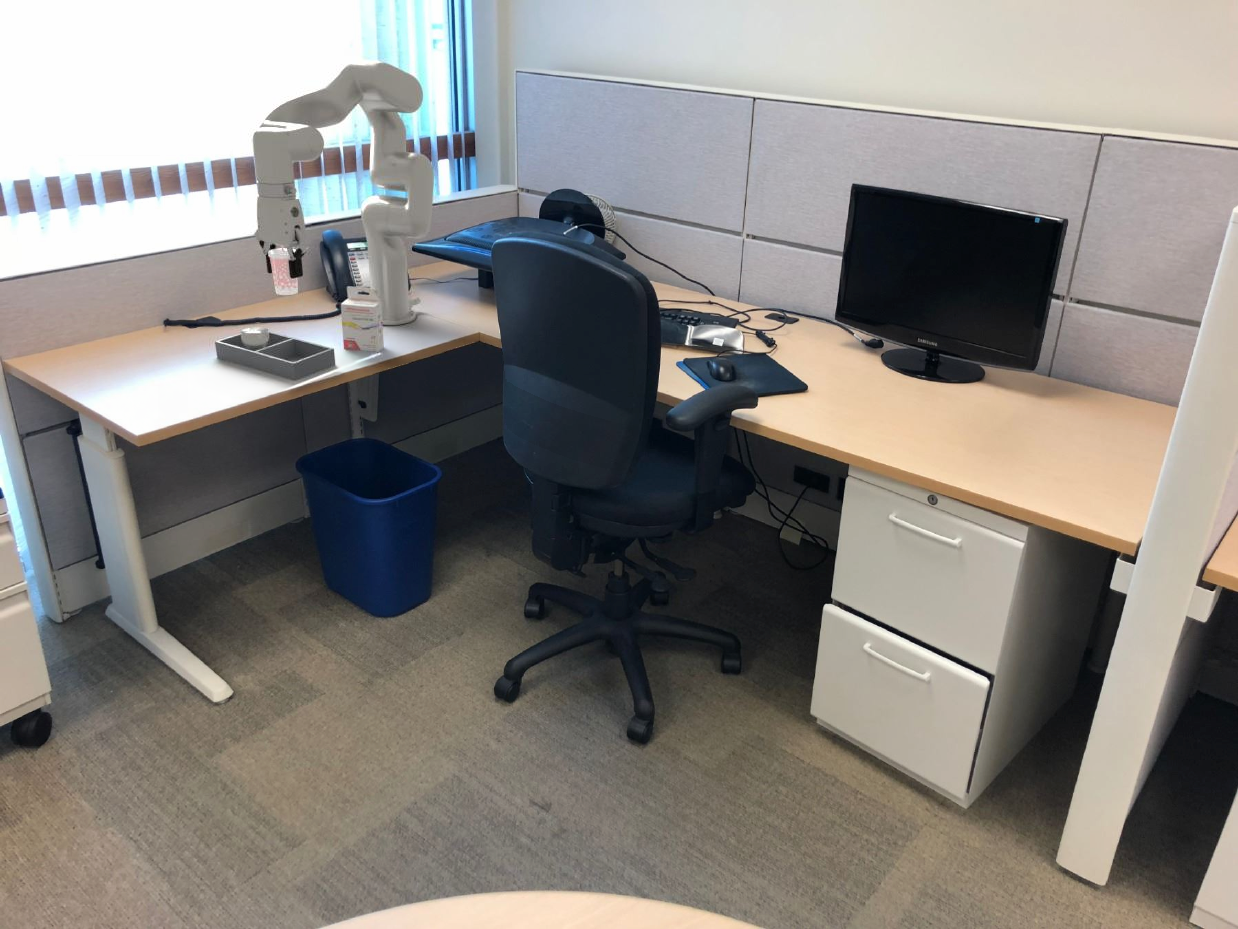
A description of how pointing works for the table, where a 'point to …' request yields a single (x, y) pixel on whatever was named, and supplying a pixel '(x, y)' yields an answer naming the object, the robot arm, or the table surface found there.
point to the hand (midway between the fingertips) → (285, 273)
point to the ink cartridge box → (362, 320)
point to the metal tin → (255, 338)
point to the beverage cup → (282, 272)
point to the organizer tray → (278, 356)
